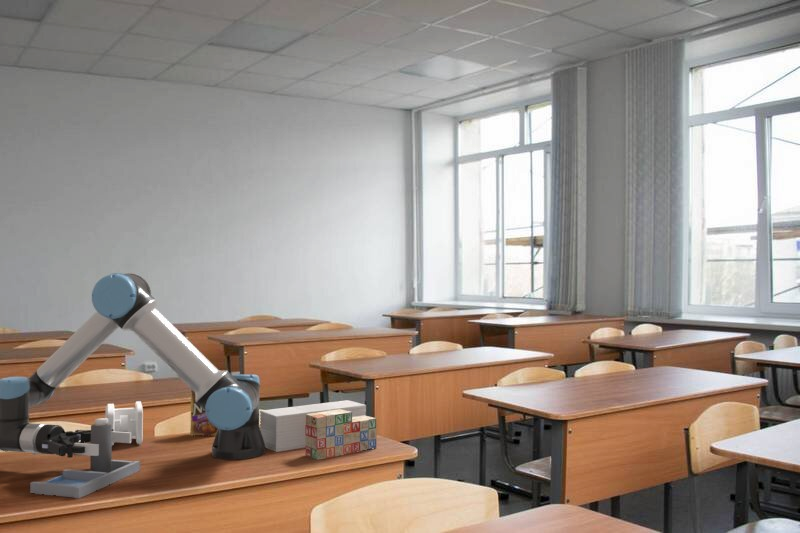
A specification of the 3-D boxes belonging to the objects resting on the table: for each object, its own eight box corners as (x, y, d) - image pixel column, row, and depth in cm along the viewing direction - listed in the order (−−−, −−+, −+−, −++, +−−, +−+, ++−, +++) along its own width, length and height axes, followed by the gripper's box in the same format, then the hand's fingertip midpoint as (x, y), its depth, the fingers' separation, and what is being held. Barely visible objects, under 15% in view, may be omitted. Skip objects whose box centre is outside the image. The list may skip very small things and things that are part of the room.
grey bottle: (115, 473, 185) (115, 418, 185) (103, 479, 180) (103, 421, 180) (98, 472, 186) (99, 417, 186) (85, 477, 181) (86, 420, 181)
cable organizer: (142, 446, 214) (143, 408, 214) (105, 450, 210) (105, 410, 210) (140, 436, 228) (141, 400, 228) (105, 439, 224) (105, 402, 224)
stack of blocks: (364, 445, 219) (364, 405, 219) (376, 449, 214) (377, 408, 214) (304, 456, 205) (305, 413, 205) (316, 460, 200) (317, 416, 200)
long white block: (347, 432, 237) (348, 400, 237) (365, 438, 228) (366, 404, 228) (259, 445, 217) (260, 410, 217) (275, 452, 209) (276, 416, 209)
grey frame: (139, 470, 188) (139, 461, 188) (78, 498, 164) (78, 487, 164) (93, 467, 191) (93, 457, 191) (26, 493, 168) (26, 483, 168)
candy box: (189, 436, 227) (190, 389, 228) (192, 433, 232) (192, 386, 232) (218, 436, 228) (218, 388, 229) (220, 433, 233) (220, 386, 233)
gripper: (75, 442, 199) (142, 446, 194) (7, 465, 175) (82, 471, 170) (75, 415, 199) (143, 419, 194) (7, 434, 175) (82, 440, 170)
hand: (114, 443), depth 182 cm, fingers open, 13 cm apart
